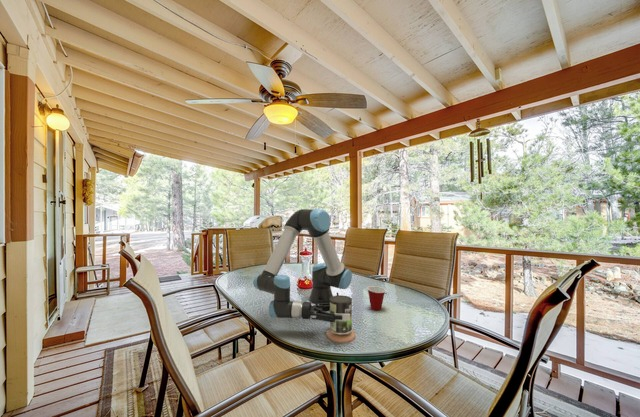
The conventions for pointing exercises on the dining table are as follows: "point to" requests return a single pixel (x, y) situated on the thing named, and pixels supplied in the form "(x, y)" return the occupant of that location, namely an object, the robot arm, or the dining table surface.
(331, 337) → the dish
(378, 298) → the plastic cup
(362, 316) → the dining table surface
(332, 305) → the coffee can
